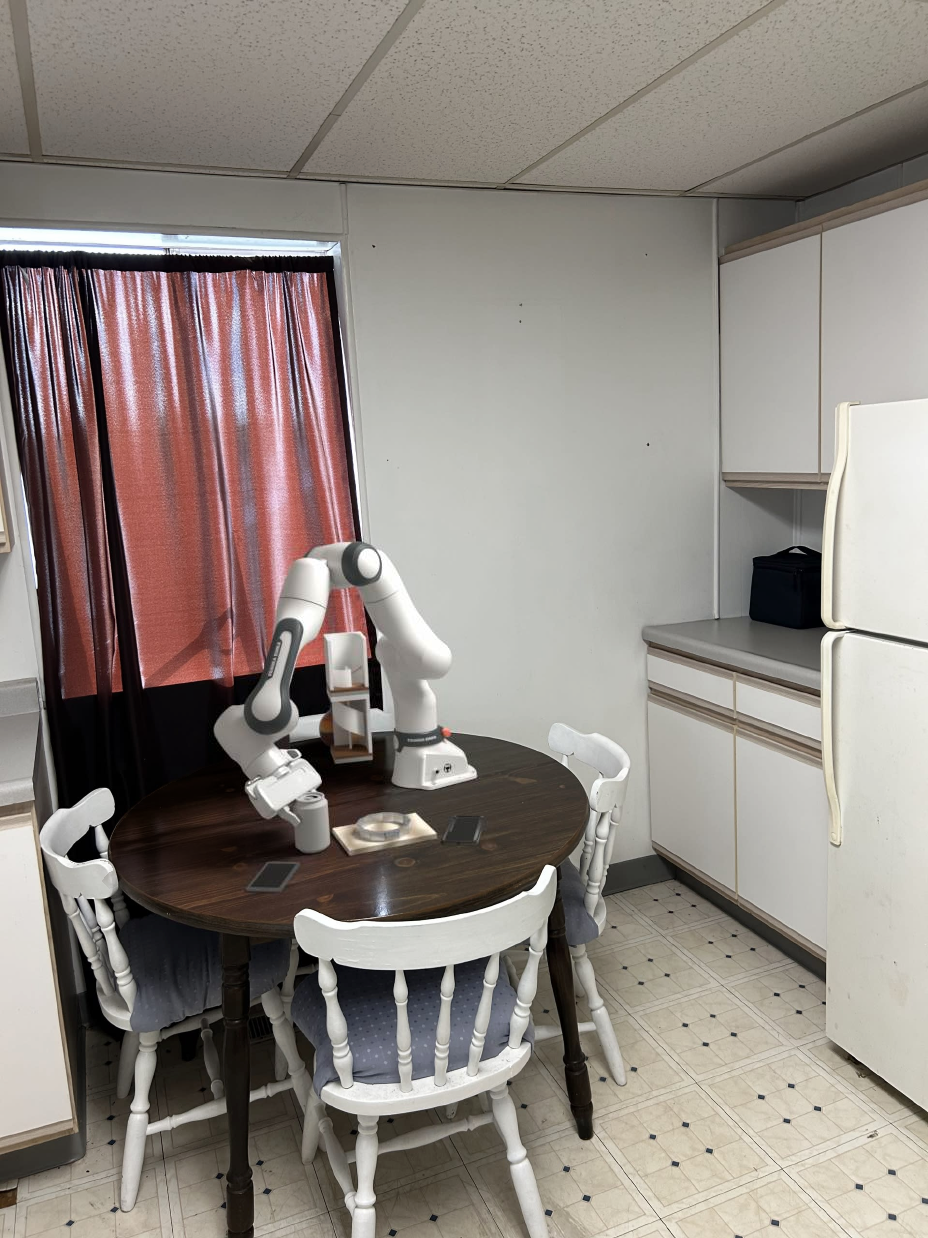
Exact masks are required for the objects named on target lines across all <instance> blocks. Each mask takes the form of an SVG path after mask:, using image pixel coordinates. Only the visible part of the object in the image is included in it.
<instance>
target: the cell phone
mask: <svg viewBox="0 0 928 1238" xmlns="http://www.w3.org/2000/svg"><path fill="white" fill-rule="evenodd" d="M300 866H301V863H300V862H298V861H267V862H266V863H265V864H264V865H263V867H262V868H261V869H260V870H259V872H257V874H256V876H254V878H253V879H252V880H251V881H250V883H249V884H248V886H246V888H245V892H246V893H250V894H251V893H256V894H259V893H260V894H280V893H282V891H283V890H284V888H285V887H286V885H288V883H289V881H290V880H291V879H292V877H293V876H294V874H295V873H296V871H297V870H298V869H299V867H300Z"/></svg>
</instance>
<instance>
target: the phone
mask: <svg viewBox="0 0 928 1238" xmlns="http://www.w3.org/2000/svg"><path fill="white" fill-rule="evenodd" d="M485 818H486V817H485V816H483V815H482V816H481V815H453V816H451V818H450V821H449V823H448V825H447V828H446V830H445V833H444V834H443V837H442V844H443V845H448V846H449V845H454V846H455V845H456V846H457V845H459V846H461V845H462V846H475V845H477V844H479V840H480V838H481V834H482V831H483V828H484V825H485V822H486V819H485Z"/></svg>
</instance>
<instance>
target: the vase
mask: <svg viewBox="0 0 928 1238" xmlns="http://www.w3.org/2000/svg"><path fill="white" fill-rule="evenodd" d="M328 701H329V710H328V711H327V712H326V713H324V715H323V716H322V717H321V719H320V720H319V725H318V733H319V736H320V740H321V741H322V743H323V744H325V746H328V747H330V748H331V746H330V745H334V729H333V713H332V702H331V700H330V698H329V697H328Z"/></svg>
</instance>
